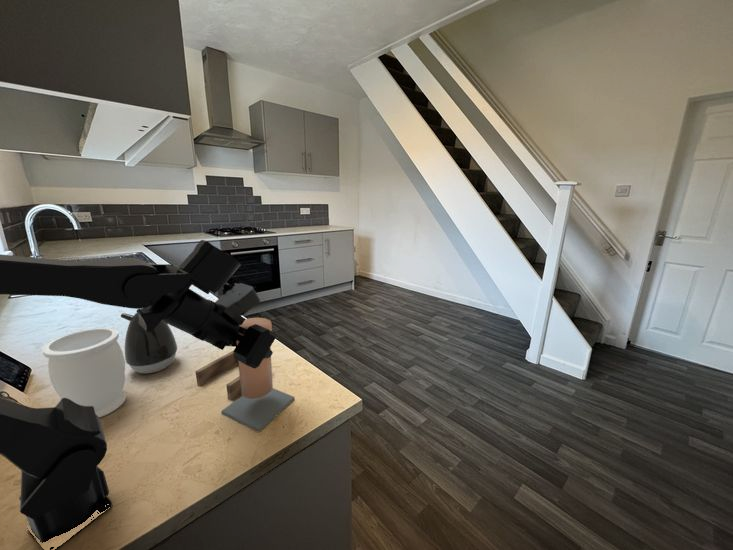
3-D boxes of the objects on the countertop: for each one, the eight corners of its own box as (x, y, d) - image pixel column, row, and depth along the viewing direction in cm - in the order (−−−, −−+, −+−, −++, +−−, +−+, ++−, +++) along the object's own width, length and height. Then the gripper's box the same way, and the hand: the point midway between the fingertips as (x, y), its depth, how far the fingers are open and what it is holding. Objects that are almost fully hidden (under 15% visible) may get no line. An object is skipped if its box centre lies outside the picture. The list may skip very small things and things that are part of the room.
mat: (259, 432, 53) (258, 429, 53) (221, 413, 57) (221, 410, 57) (294, 399, 62) (294, 396, 61) (259, 385, 66) (259, 382, 66)
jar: (63, 405, 58) (43, 337, 54) (128, 383, 65) (115, 322, 61) (62, 436, 51) (38, 361, 47) (136, 408, 58) (121, 340, 54)
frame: (231, 400, 61) (229, 386, 60) (197, 384, 65) (195, 371, 64) (269, 373, 70) (268, 360, 69) (237, 361, 75) (236, 349, 74)
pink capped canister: (247, 405, 53) (242, 336, 50) (233, 387, 58) (227, 324, 54) (280, 389, 58) (278, 325, 55) (265, 374, 63) (261, 315, 59)
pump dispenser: (146, 356, 76) (135, 302, 72) (187, 355, 77) (179, 302, 73) (116, 380, 66) (102, 319, 62) (164, 379, 67) (153, 319, 63)
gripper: (262, 284, 43) (314, 326, 55) (198, 264, 53) (254, 304, 65) (216, 352, 39) (284, 382, 51) (156, 317, 49) (224, 349, 61)
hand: (260, 349), depth 57 cm, fingers closed on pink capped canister, 6 cm apart
